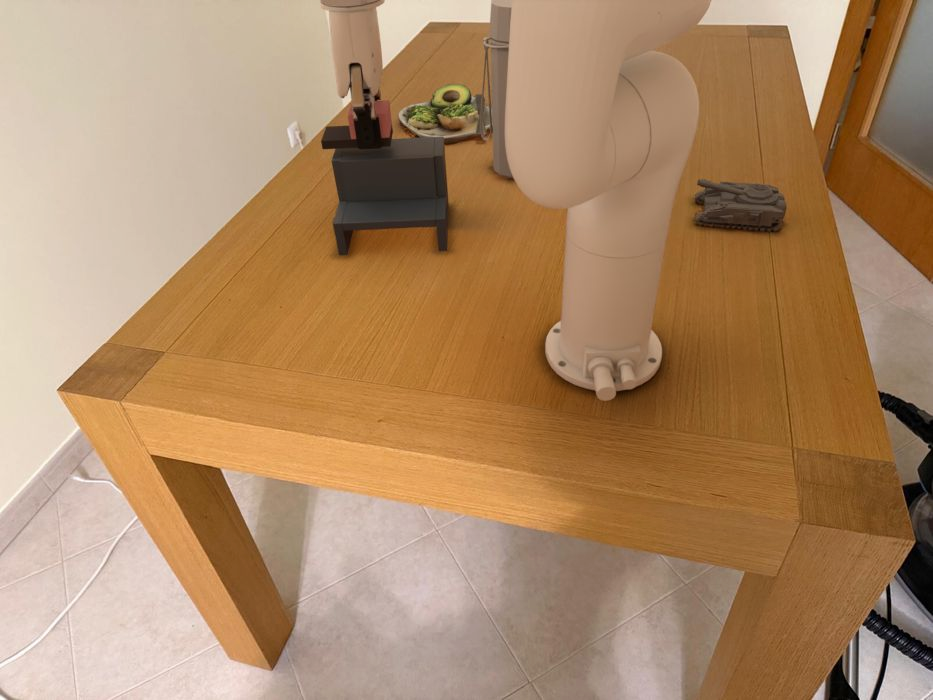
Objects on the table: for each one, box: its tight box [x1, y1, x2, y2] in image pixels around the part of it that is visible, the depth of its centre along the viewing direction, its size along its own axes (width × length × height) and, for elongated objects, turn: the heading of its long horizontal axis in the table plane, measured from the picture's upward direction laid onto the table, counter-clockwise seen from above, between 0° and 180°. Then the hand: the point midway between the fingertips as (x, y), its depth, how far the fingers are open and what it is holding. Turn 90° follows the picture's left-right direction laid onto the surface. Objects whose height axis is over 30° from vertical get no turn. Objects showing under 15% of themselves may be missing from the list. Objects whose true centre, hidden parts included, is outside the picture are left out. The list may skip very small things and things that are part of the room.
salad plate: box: [397, 83, 493, 144], centre depth 122 cm, size 19×18×5 cm
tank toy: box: [694, 178, 788, 232], centre depth 94 cm, size 12×10×5 cm
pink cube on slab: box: [320, 99, 394, 150], centre depth 90 cm, size 9×5×4 cm, turn 90°
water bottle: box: [480, 0, 514, 180], centre depth 101 cm, size 9×8×25 cm
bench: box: [331, 137, 450, 256], centre depth 93 cm, size 12×15×11 cm
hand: (372, 137), depth 91 cm, fingers closed on pink cube on slab, 4 cm apart
